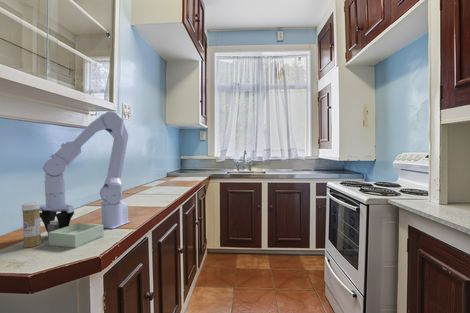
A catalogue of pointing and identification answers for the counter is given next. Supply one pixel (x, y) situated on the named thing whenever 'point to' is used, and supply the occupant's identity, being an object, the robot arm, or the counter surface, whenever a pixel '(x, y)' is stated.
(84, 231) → the green box
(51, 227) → the grey plug
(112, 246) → the counter surface
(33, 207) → the sprinkles bottle
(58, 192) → the robot arm
